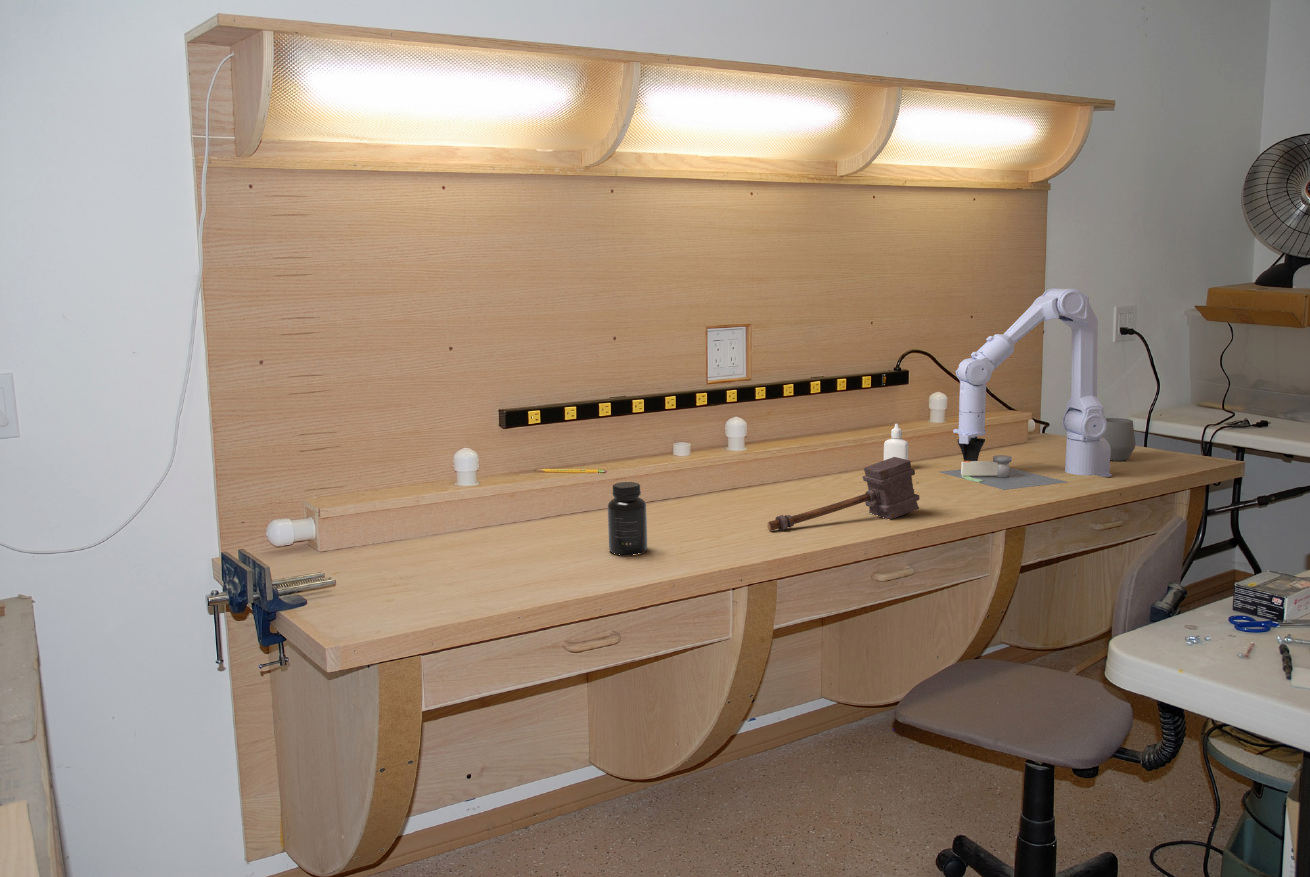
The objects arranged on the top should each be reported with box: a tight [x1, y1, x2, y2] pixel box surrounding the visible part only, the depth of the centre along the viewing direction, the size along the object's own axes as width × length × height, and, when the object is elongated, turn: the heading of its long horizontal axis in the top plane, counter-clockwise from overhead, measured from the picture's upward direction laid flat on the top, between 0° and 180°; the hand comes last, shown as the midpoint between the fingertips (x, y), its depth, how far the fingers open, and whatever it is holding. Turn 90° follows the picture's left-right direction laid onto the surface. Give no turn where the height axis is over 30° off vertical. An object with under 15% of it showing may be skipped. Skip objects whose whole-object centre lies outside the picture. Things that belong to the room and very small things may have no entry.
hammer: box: [766, 457, 921, 531], centre depth 192 cm, size 7×33×10 cm, turn 115°
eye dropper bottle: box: [883, 423, 909, 461], centre depth 236 cm, size 4×6×12 cm
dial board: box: [939, 467, 1068, 491], centre depth 226 cm, size 18×22×1 cm
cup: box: [1101, 417, 1136, 462], centre depth 249 cm, size 10×9×10 cm
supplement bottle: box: [607, 481, 648, 556], centre depth 173 cm, size 7×7×12 cm
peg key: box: [960, 454, 1013, 478], centre depth 226 cm, size 11×4×4 cm, turn 88°
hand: (970, 469), depth 228 cm, fingers closed, pressing on peg key
